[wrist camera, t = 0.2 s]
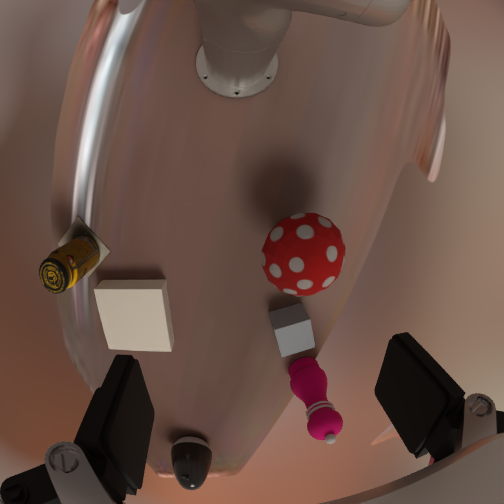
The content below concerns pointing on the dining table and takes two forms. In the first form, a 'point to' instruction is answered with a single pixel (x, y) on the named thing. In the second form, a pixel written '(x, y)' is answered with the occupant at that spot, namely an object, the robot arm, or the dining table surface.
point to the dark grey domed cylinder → (191, 461)
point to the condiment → (72, 258)
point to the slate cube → (292, 329)
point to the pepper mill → (315, 399)
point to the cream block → (135, 314)
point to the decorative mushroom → (303, 254)
